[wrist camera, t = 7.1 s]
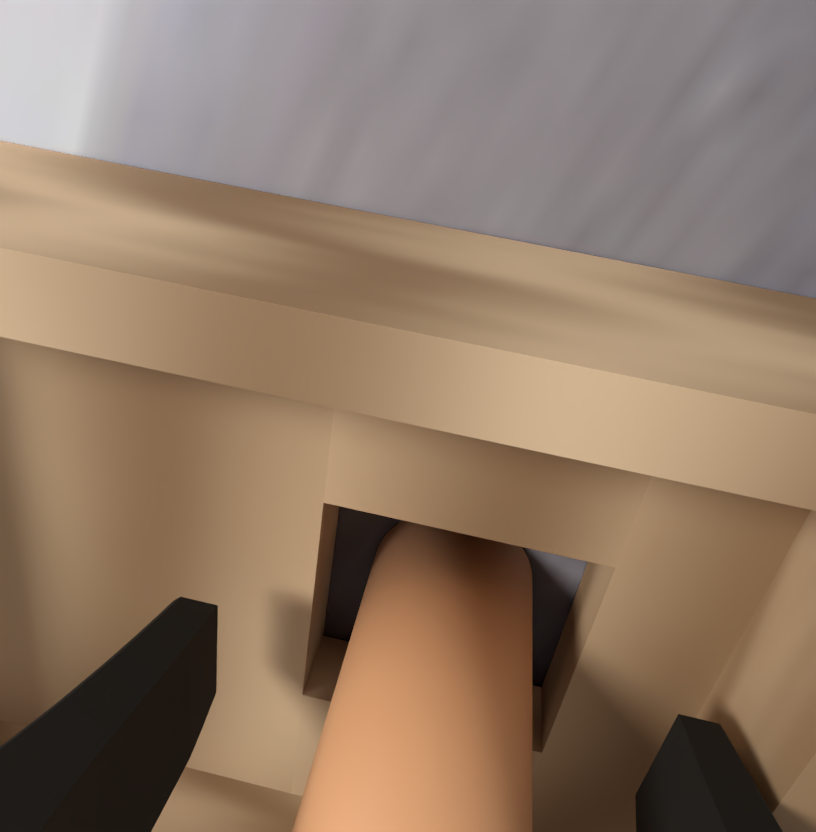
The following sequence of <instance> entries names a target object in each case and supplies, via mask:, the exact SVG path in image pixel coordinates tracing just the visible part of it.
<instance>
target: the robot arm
mask: <svg viewBox="0 0 816 832" xmlns="http://www.w3.org/2000/svg"><path fill="white" fill-rule="evenodd" d="M217 628H218V605H214V604H210V603H206V602H202V601H197V600H193V599H189V598H185V597H179V598H177V599H175V600H174V601H172V602H171V603H170V604H169V605H168V606H167V607H166V608H165V609H164V610H163V611H162V612H161V613H160V614H159V615H158V616H156V617H155V618H154V619H153V620H152V621H151V622H150V623H149V624H148V625H147V626H146V627H144V628H143V629H142V630H141V631H140V632H139V633H138V634H137V635H136V636H135V637H133V638H132V639H131V640H130V641H129V642H128V643H127V644H126V645H124V646H123V647H122V648H121V649H120V650H119V651H118V652H116V653H115V654H114V655H113V656H112V657H111V658H110V659H109V660H107V661H106V662H105V663H104V664H103V665H102V666H100V667H99V668H98V669H97V670H96V671H94V672H93V673H92V674H91V675H90V676H88V677H87V678H86V679H85V680H84V681H82V682H81V683H80V684H79V685H78V686H76V687H75V688H74V689H73V690H72V691H70V692H69V693H68V694H67V695H66V696H64V697H63V698H62V699H61V700H60V701H58V702H57V703H56V704H55V705H53V706H52V707H51V708H50V709H48V710H47V711H46V712H45V713H43V714H42V715H41V716H39V717H38V718H37V719H35V720H34V721H33V722H31V723H30V724H29V725H28V726H26V727H25V728H24V729H22V730H21V731H20V732H18V733H17V734H16V735H15V736H13V737H12V738H11V739H9V740H8V741H7V742H5V743H4V744H3V745H1V746H0V832H151V831H152V829H153V827H154V825H155V823H156V822H157V820H158V818H159V816H160V814H161V812H162V810H163V808H164V807H165V805H166V803H167V801H168V799H169V797H170V795H171V793H172V791H173V789H174V788H175V786H176V784H177V782H178V780H179V778H180V776H181V774H182V772H183V770H184V768H185V767H186V765H187V763H188V761H189V759H190V757H191V754H192V752H193V750H194V747H195V745H196V742H197V740H198V737H199V735H200V733H201V730H202V728H203V725H204V723H205V720H206V718H207V715H208V713H209V710H210V707H211V705H212V702H213V700H214V697H215V695H216V686H217ZM635 801H636V832H783V831H782V829H781V828H780V826H779V824H778V822H777V821H776V819H775V817H774V816H773V814H772V812H771V811H770V809H769V807H768V805H767V804H766V802H765V800H764V799H763V797H762V795H761V793H760V792H759V790H758V788H757V787H756V785H755V783H754V781H753V780H752V778H751V776H750V774H749V773H748V771H747V769H746V768H745V766H744V764H743V762H742V761H741V759H740V757H739V755H738V754H737V752H736V750H735V748H734V747H733V745H732V743H731V742H730V740H729V738H728V736H727V735H726V733H725V731H724V730H723V728H722V726H721V725H720V724H719V723H715V722H710V721H706V720H702V719H698V718H694V717H689V716H685V715H681V714H678V716H677V717H676V719H675V721H674V723H673V725H672V727H671V729H670V731H669V732H668V734H667V736H666V738H665V740H664V742H663V744H662V746H661V748H660V749H659V751H658V753H657V755H656V757H655V759H654V761H653V763H652V765H651V766H650V768H649V770H648V772H647V774H646V776H645V778H644V780H643V781H642V783H641V785H640V787H639V789H638V791H637V793H636V795H635Z"/></svg>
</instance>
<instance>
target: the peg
mask: <svg viewBox="0 0 816 832" xmlns="http://www.w3.org/2000/svg"><path fill="white" fill-rule="evenodd" d="M532 621H533V579H532V569H531V565H530V562H529V559H528V557H527V554H526V553H525V551H524V550H523V548H522V547H520V546H516V545H511V544H507V543H502V542H498V541H493V540H489V539H484V538H480V537H475V536H471V535H466V534H462V533H457V532H453V531H448V530H444V529H439V528H435V527H431V526H426V525H422V524H417V523H413V522H408V521H404V520H403V521H402V522H400V523H398V524H397V525H396V526H394V527H393V528H392V529H391V530H390V531H389V532H388V533H387V534H386V535H385V536H384V538H383V539H382V540H381V542H380V544H379V546H378V548H377V552H376V555H375V558H374V561H373V565H372V568H371V571H370V575H369V578H368V581H367V585H366V588H365V591H364V594H363V598H362V601H361V604H360V608H359V611H358V614H357V618H356V621H355V624H354V627H353V631H352V634H351V637H350V641H349V644H348V647H347V651H346V654H345V657H344V661H343V664H342V667H341V670H340V674H339V677H338V680H337V684H336V687H335V690H334V694H333V697H332V700H331V703H330V707H329V710H328V713H327V717H326V720H325V723H324V727H323V730H322V733H321V736H320V740H319V743H318V746H317V750H316V753H315V756H314V760H313V763H312V766H311V770H310V773H309V776H308V779H307V783H306V786H305V789H304V793H303V796H302V799H301V803H300V806H299V809H298V812H297V816H296V819H295V822H294V826H293V829H292V832H532Z"/></svg>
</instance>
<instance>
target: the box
mask: <svg viewBox="0 0 816 832" xmlns="http://www.w3.org/2000/svg"><path fill="white" fill-rule="evenodd" d="M339 506H341V507H345V508H350V509H354V510H359V511H363V512H368V513H372V514H377V515H381V516H386V517H390V518H395V519H399V520H404V521H408V522H413V523H417V524H422V525H426V526H431V527H435V528H439V529H444V530H448V531H453V532H457V533H462V534H466V535H471V536H475V537H480V538H484V539H489V540H493V541H498V542H502V543H507V544H511V545H516V546H520V547H525V548H529V549H534V550H538V551H543V552H547V553H552V554H556V555H560V556H565V557H569V558H574V559H578V560H583V561H587V562H588V563H587V565H586V568H585V571H584V573H583V576H582V579H581V582H580V584H579V587H578V590H577V592H576V595H575V598H574V601H573V603H572V606H571V609H570V611H569V614H568V617H567V620H566V622H565V625H564V628H563V630H562V633H561V636H560V639H559V641H558V644H557V647H556V649H555V652H554V655H553V658H552V660H551V663H550V666H549V669H548V671H547V674H546V677H545V679H544V682H543V685H542V687H538V686H534V685H532V832H636V801H635V795H636V793H637V791H638V789H639V787H640V785H641V783H642V781H643V780H644V778H645V776H646V774H647V772H648V770H649V768H650V766H651V765H652V763H653V761H654V759H655V757H656V755H657V753H658V751H659V749H660V748H661V746H662V744H663V742H664V740H665V738H666V736H667V734H668V732H669V731H670V729H671V727H672V725H673V723H674V721H675V719H676V717H677V716H678V714H681V715H685V716H689V717H694V718H698V719H702V720H706V721H710V722H715V723H719V724H720V725H721V726H722V728H723V730H724V731H725V733H726V735H727V736H728V738H729V740H730V742H731V743H732V745H733V747H734V748H735V750H736V752H737V754H738V755H739V757H740V759H741V761H742V762H743V764H744V766H745V768H746V769H747V771H748V773H749V774H750V776H751V778H752V780H753V781H754V783H755V785H756V787H757V788H758V790H759V792H760V793H761V795H762V797H763V799H764V800H765V802H766V804H767V805H768V807H769V809H770V811H771V812H772V814H773V816H774V817H775V819H776V821H777V822H778V824H779V826H780V828H781V829H782V831H783V832H816V299H814V298H809V297H804V296H799V295H794V294H788V293H783V292H778V291H773V290H768V289H763V288H757V287H752V286H747V285H742V284H737V283H732V282H726V281H721V280H716V279H711V278H706V277H701V276H695V275H690V274H685V273H680V272H675V271H670V270H664V269H659V268H654V267H649V266H644V265H639V264H633V263H628V262H623V261H618V260H613V259H608V258H602V257H597V256H592V255H587V254H582V253H577V252H571V251H566V250H561V249H556V248H551V247H546V246H541V245H535V244H530V243H525V242H520V241H515V240H510V239H504V238H499V237H494V236H489V235H484V234H479V233H473V232H468V231H463V230H458V229H453V228H448V227H442V226H437V225H432V224H427V223H422V222H417V221H411V220H406V219H401V218H396V217H391V216H386V215H380V214H375V213H370V212H365V211H360V210H355V209H349V208H344V207H339V206H334V205H329V204H324V203H318V202H313V201H308V200H303V199H298V198H293V197H287V196H282V195H277V194H272V193H267V192H262V191H256V190H251V189H246V188H241V187H236V186H231V185H225V184H220V183H215V182H210V181H205V180H200V179H194V178H189V177H184V176H179V175H174V174H169V173H163V172H158V171H153V170H148V169H143V168H138V167H132V166H127V165H122V164H117V163H112V162H107V161H102V160H96V159H91V158H86V157H81V156H76V155H71V154H65V153H60V152H55V151H50V150H45V149H40V148H34V147H29V146H24V145H19V144H14V143H9V142H3V141H0V746H1V745H3V744H4V743H5V742H7V741H8V740H9V739H11V738H12V737H13V736H15V735H16V734H17V733H18V732H20V731H21V730H22V729H24V728H25V727H26V726H28V725H29V724H30V723H31V722H33V721H34V720H35V719H37V718H38V717H39V716H41V715H42V714H43V713H45V712H46V711H47V710H48V709H50V708H51V707H52V706H53V705H55V704H56V703H57V702H58V701H60V700H61V699H62V698H63V697H64V696H66V695H67V694H68V693H69V692H70V691H72V690H73V689H74V688H75V687H76V686H78V685H79V684H80V683H81V682H82V681H84V680H85V679H86V678H87V677H88V676H90V675H91V674H92V673H93V672H94V671H96V670H97V669H98V668H99V667H100V666H102V665H103V664H104V663H105V662H106V661H107V660H109V659H110V658H111V657H112V656H113V655H114V654H115V653H116V652H118V651H119V650H120V649H121V648H122V647H123V646H124V645H126V644H127V643H128V642H129V641H130V640H131V639H132V638H133V637H135V636H136V635H137V634H138V633H139V632H140V631H141V630H142V629H143V628H144V627H146V626H147V625H148V624H149V623H150V622H151V621H152V620H153V619H154V618H155V617H156V616H158V615H159V614H160V613H161V612H162V611H163V610H164V609H165V608H166V607H167V606H168V605H169V604H170V603H171V602H172V601H174V600H175V599H177V598H179V597H185V598H189V599H193V600H197V601H202V602H206V603H210V604H214V605H218V628H217V686H216V695H215V697H214V700H213V702H212V705H211V707H210V710H209V713H208V715H207V718H206V720H205V723H204V725H203V728H202V730H201V733H200V735H199V737H198V740H197V742H196V745H195V747H194V750H193V752H192V754H191V757H190V759H189V761H188V763H187V765H186V767H185V768H184V770H183V772H182V774H181V776H180V778H179V780H178V782H177V784H176V786H175V788H174V789H173V791H172V793H171V795H170V797H169V799H168V801H167V803H166V805H165V807H164V808H163V810H162V812H161V814H160V816H159V818H158V820H157V822H156V823H155V825H154V827H153V829H152V831H151V832H292V829H293V826H294V822H295V819H296V816H297V812H298V809H299V806H300V803H301V799H302V796H303V793H304V789H305V786H306V783H307V779H308V776H309V773H310V770H311V766H312V763H313V760H314V756H315V753H316V750H317V746H318V743H319V740H320V736H321V733H322V730H323V727H324V723H325V720H326V717H327V713H328V710H329V707H330V703H331V700H332V697H333V694H334V690H335V687H336V684H337V680H338V677H339V674H340V670H341V667H342V664H343V661H344V657H345V654H346V651H347V647H348V644H349V642H348V641H343V640H339V639H335V638H331V637H327V636H323V634H324V626H325V618H326V610H327V602H328V594H329V586H330V578H331V570H332V562H333V554H334V546H335V538H336V530H337V522H338V514H339Z"/></svg>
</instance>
